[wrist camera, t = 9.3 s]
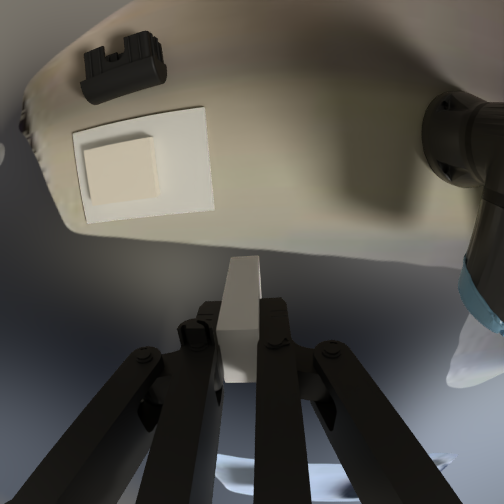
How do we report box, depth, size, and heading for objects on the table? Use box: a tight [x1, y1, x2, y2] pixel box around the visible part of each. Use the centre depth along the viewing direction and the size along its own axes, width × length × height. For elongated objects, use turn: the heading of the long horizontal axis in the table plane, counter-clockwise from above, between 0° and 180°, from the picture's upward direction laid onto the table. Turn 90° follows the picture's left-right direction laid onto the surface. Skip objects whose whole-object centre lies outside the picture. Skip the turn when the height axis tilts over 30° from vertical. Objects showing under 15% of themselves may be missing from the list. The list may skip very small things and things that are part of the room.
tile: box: [84, 137, 160, 206], centre depth 38 cm, size 2×8×10 cm
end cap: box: [80, 31, 167, 105], centre depth 31 cm, size 10×7×7 cm
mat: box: [73, 107, 215, 224], centre depth 39 cm, size 20×14×1 cm
